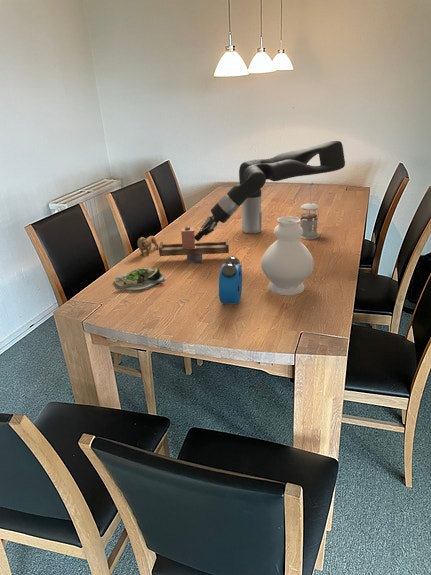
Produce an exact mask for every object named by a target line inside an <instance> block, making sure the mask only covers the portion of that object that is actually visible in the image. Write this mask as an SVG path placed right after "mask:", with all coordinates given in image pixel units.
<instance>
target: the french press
mask: <svg viewBox="0 0 431 575" xmlns="http://www.w3.org/2000/svg"><path fill="white" fill-rule="evenodd" d="M308 185H309V186H313V185H314V182H313V181H309V183H308ZM311 192H312V189H310V192H309V199H311V195H312V193H311ZM300 208H301V209H302V210H305V211H308V213H307V212H306V213H302V214H301V215H300V216H301V217H300V218H299V219H300V223H299V226H300V227H301V228H302V230H303V233H302V235H301V236H300V238H301V239H302V238H303V239H305V240H315V239H317V237H318V238H319V234H318V219H319V217H318V216H319V208H320V206H319V205H318V204H317V203H315V202H314V203H311V202H307V203H303V204H302V205H301V206H300ZM311 211H312V212H314V213H310V212H311ZM316 211H317V214H316ZM300 238H299V239H300ZM314 238H315V239H314Z"/></svg>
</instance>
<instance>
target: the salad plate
mask: <svg viewBox="0 0 431 575" xmlns="http://www.w3.org/2000/svg"><path fill="white" fill-rule="evenodd" d="M165 281H167V279H165V275H164V274H163V273H161V271H160V269H159V268H158V267H155V268H153V269H152V268H148V267H142V268H136V269H132V270H131V271H128V272H125V273H122V274H120V275H118V276H116V277H115V278H114V280H113V283H114V284H115V285H116V287H115V290H118V291H120V290H124V291H133V292H134V291H136V292H137V291H138V292H139V291H144V290H146V289H147V290H148V289H149V288H153V287H155V286H158V285H160V284H162V283H164V282H165ZM124 282H125V283H124Z"/></svg>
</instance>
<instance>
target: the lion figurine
mask: <svg viewBox="0 0 431 575" xmlns="http://www.w3.org/2000/svg"><path fill="white" fill-rule="evenodd" d="M152 244H153V245H154V247H156V248H155V249H156V250H159V244H158V243H157V239H156V237H155V236H154V235H150V236H148V237H146V238H145V237H142V236H140V237H139V238H138V240H137V247H138V249H139V250H140V256H141V257H143V256H144V251H145V252H146V254H145V255H146V256H147V257H149V256H150V252H151V249H152Z"/></svg>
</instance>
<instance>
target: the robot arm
mask: <svg viewBox="0 0 431 575" xmlns="http://www.w3.org/2000/svg"><path fill="white" fill-rule="evenodd" d="M317 155H318V156H319V164H320V165H310V164H308V163H309V162H310V161H311V159H313V158H314V157H315V156H317ZM345 166H346V160H345V153H344V147H343V142H342V141H340V140H332V141H328V142H323V143H321V144H317V145H314V146H310V147H307V148H303V149H298V150H292V151H287V152H282V153H279V154H277V155H275V156H273V157H270V158H264V159H263V158H262V159H252V160H247V161H244V162H242V163H241V164H240V166H239V170H238V178H239V181H238V182H239V184H234V186H233V187H231V188H230V190H228V192H227V193H225V195H224V196H222V197H221V198H220V199H219V200H218V201H217V202H216V203H215V205H214V206H213V207H212V208H211V209H210V212H211V214H212V215H211V216H208V217H207V219H206V220H205V221H204V223H203V224H202V225H201V227H200V230H199V231H198V232H197V233H196V234H195V237H194V238H195V241H197V242H200V240H201V239H202V238H203V237H204V236H207V235H209V234H210V233H212V232H214V230H215V228H216V227H217V226H218V225H219V224H218V223H219V222H220V223H222V224H224V223H226V222H227V221H228V220H229V219H230V218H231V217H232V216H233V215H234V214H235V213H236V212H237V210H238V209H239V208H240V206H241V231H242V232H243V233H245V234H257V233H262V227H263V224H262V223H263V222H262V221H263V220H262V218H263V216H262V189H263V187H264V186H265V184H266V182H267V180H269V181H271V182H279V181H283V180H284V181H285V180H288V179H291V178H296V177H304V176H305V177H306V176H313V175H318V174H319V175H320V174H327V173H331V172H336V171H339V170H342V169H344V167H345Z"/></svg>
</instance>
